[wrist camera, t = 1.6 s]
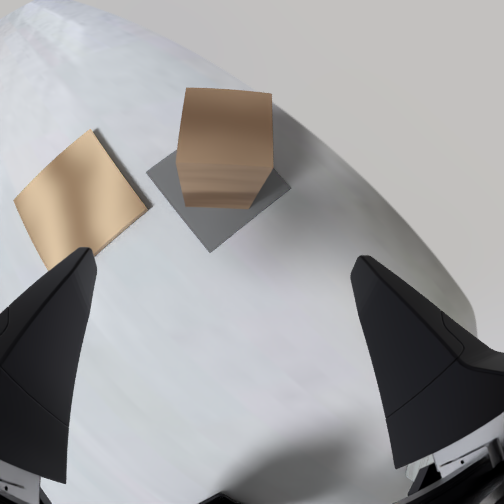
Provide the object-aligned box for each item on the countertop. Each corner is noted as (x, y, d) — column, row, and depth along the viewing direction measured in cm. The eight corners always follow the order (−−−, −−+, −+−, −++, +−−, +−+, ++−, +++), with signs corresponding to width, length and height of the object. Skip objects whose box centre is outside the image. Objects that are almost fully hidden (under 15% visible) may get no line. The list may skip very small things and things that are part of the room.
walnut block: (248, 209, 23) (273, 167, 14) (185, 206, 22) (175, 162, 13) (249, 153, 23) (271, 93, 15) (190, 150, 22) (186, 87, 14)
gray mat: (210, 253, 22) (210, 252, 22) (146, 172, 22) (145, 172, 22) (290, 188, 24) (290, 188, 23) (226, 118, 23) (226, 117, 23)
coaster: (61, 288, 19) (58, 288, 19) (16, 201, 19) (13, 200, 19) (148, 210, 21) (146, 208, 21) (92, 131, 21) (90, 128, 21)
